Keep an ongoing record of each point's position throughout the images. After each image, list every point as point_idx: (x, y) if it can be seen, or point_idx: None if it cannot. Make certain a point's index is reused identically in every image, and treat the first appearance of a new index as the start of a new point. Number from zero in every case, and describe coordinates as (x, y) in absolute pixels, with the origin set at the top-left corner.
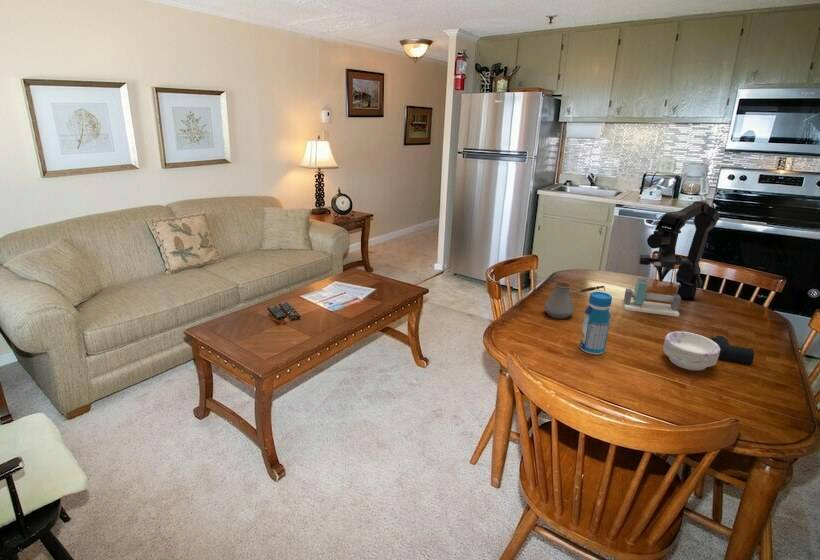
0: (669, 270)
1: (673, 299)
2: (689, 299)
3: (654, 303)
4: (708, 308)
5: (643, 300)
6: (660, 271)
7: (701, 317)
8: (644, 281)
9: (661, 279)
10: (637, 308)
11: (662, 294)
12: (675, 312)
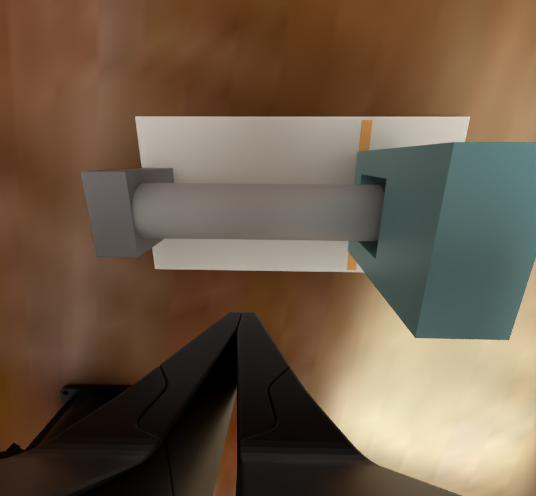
0: (13, 459)
1: (148, 184)
2: (86, 387)
3: (264, 253)
4: (4, 309)
5: (370, 150)
6: (275, 418)
7: (27, 160)
8: (453, 255)
9: (235, 323)
10: (390, 117)
11: (227, 215)
12: (157, 135)
